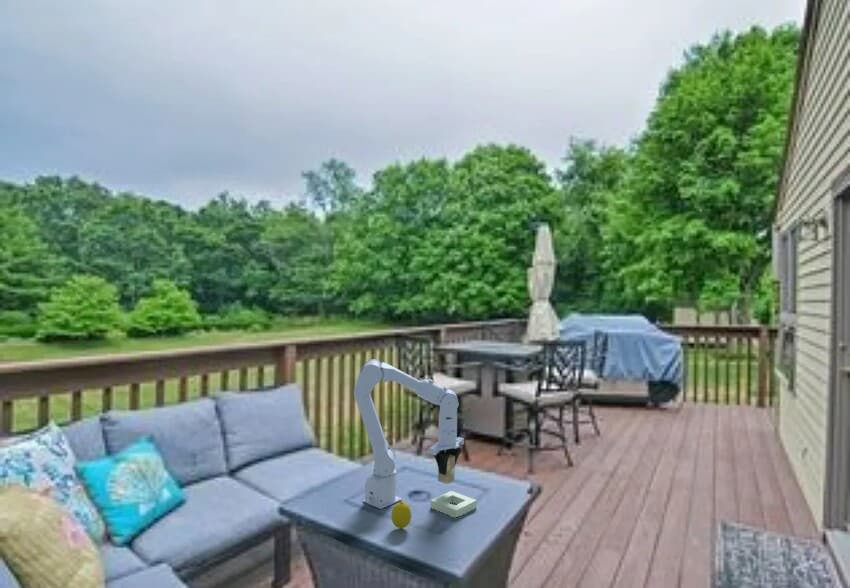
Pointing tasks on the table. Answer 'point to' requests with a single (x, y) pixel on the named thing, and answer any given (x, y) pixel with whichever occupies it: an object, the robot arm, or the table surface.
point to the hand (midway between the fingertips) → (446, 471)
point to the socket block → (457, 510)
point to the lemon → (401, 515)
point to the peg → (448, 471)
